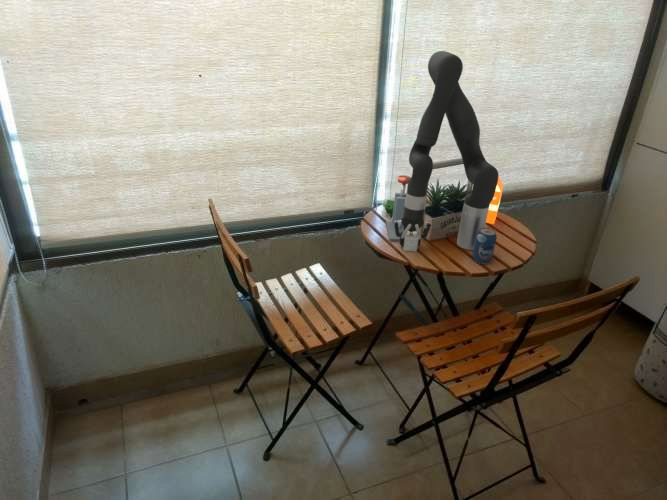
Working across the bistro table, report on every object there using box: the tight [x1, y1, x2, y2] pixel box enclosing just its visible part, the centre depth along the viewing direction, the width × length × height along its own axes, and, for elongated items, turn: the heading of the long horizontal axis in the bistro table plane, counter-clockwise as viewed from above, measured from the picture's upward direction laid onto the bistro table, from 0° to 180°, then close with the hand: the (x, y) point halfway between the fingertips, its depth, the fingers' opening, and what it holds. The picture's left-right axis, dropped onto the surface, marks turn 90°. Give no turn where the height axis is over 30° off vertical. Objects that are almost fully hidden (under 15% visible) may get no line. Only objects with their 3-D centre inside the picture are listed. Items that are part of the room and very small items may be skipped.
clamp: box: [384, 199, 394, 219], centre depth 217 cm, size 12×6×9 cm, turn 67°
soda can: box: [472, 227, 498, 265], centre depth 184 cm, size 7×7×12 cm
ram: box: [397, 174, 412, 197], centre depth 201 cm, size 5×5×14 cm
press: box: [385, 191, 407, 243], centre depth 200 cm, size 10×16×14 cm, turn 0°
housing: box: [402, 231, 419, 252], centre depth 191 cm, size 5×5×7 cm
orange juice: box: [486, 174, 504, 225], centre depth 216 cm, size 8×9×20 cm
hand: (409, 246), depth 192 cm, fingers closed on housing, 5 cm apart
